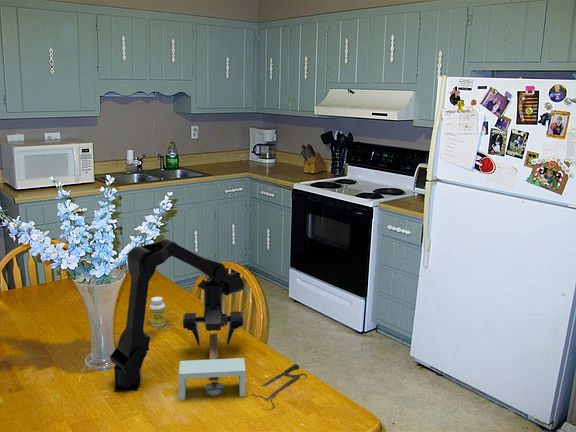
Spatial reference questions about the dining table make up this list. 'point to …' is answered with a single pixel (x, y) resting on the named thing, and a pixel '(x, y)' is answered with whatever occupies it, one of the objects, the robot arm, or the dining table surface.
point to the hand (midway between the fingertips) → (213, 344)
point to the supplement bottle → (157, 312)
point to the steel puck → (214, 389)
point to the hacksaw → (284, 384)
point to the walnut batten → (213, 350)
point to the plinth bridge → (211, 371)
